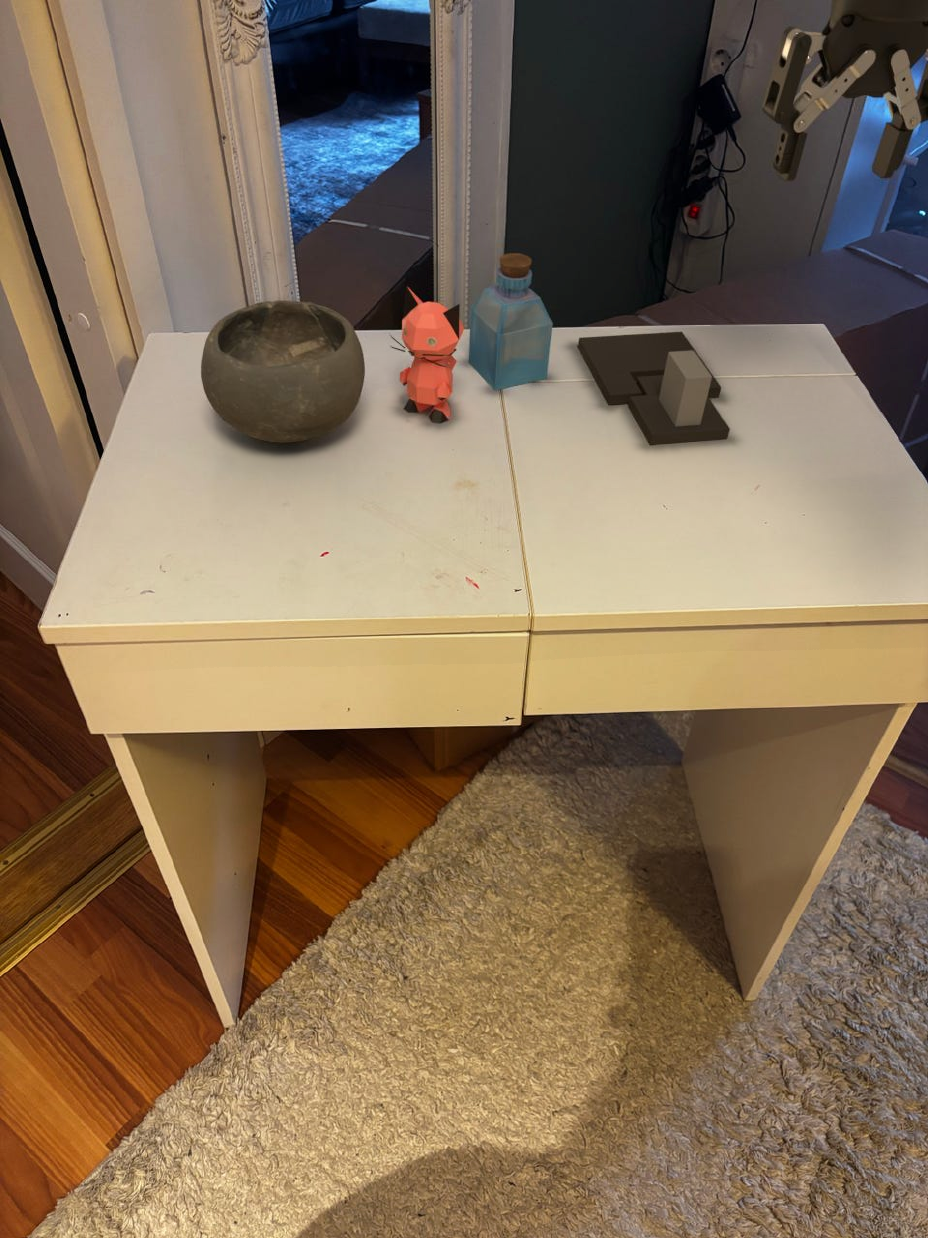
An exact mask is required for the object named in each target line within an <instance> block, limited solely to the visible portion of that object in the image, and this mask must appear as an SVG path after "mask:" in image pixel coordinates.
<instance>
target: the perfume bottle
mask: <svg viewBox="0 0 928 1238" xmlns="http://www.w3.org/2000/svg"><path fill="white" fill-rule="evenodd" d="M531 265H532V259H531V257H529V256H528V255H525V254H523V253H518V252H515V253H514V252H511V253H505V254H502V255H501V256H499V267H498V269H497V270H496V283H497V284H498V285H493V286H492V285H491V286H488V287H485V289H483V291H482V293H481V294H480V295H479V296H478V297H477V299H476V300H475V302H474V303H473V304H472V306H471V307H470V314H469V315H470V316H469V317H470V318H469V339H468V340H469V341H468V343H469V344H468V363H469V365H470V366H471V367H472V368H473V369H474V370H475V371H476V372H477V373H478V374H479V375H480V376H481V378H483V380H485V382H486V383H487V384H488V385H489V386H490V387H491V388H492V389H493V390H494V391H498V390H499V391H500V390H502V389H508V388H511V387H512V388H513V387H515V386H520V385H525V384H529V383H532V382H536V381H542V380H546V379H547V378H548V370H549V361H550V352H551V342H552V335H553V334H552V333H553V325H554V323H553V321H552V319H551V317H550V315H549V313H548V311H547V309H546V307H545V304H544V303H543V300H542V298H541V296H539V295H538V294H537V293H536V292H535V291H533V290H532V289H531V288H530V286H531V285H532V277H533V273H532V270H531V269H530V268H531Z"/></svg>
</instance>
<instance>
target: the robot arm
mask: <svg viewBox="0 0 928 1238" xmlns="http://www.w3.org/2000/svg"><path fill="white" fill-rule="evenodd" d="M816 53H817V54H818V57H819V60H820V61H819V64H818V65H817V66H816V68H814V70H813V71H811V73H810V74H809V75H808V76H807V78H806V79H805V80H804V81H802V84H801V86H800V82H801V79H802V76H803V73H804V69H805V67H807V66H808V65H809V64H811V63H812V61H813V57H814V55H815V54H816ZM923 56H924V58H925V60H926V62H925V65H924V66H925V67H924V70H923V72H922V76H921V79H920V83H919V85H918V86H919V87H918V90H917V88H916V84H915V80H914V77H913V74H912V71H911V69H912V68H913V67H914V66H915V65H916V64H917V63H918V62H919V60H921V59H922V57H923ZM826 83H827V85H826V86H824V85H825V84H826ZM799 86H800V90H799V92H798V89H799ZM823 86H824V87H823ZM863 96H868V97H871V98H873V99H876V98H877V99H880V98H881V99H882V98H884V99H885V101H886V104H887V108H888V111H889V114H890V117H891V121H886V122H885V125H884V128H883V131H882V134H881V136H880V141H879V143H878V146H877V149H876V153H875V156H874V159H873V162H872V164H871V171H872V173H873V174H874V175H875V176H877V177H879V178H880V179H892V177H893V176H894V173H895V171H898V170H899V169H900V166H901V165H902V163H903V161H904V159H905V156H906V155H905V154H906V151H907V149H908V146H909V143H910V140H911V137H912V134H913V132H914V130H915V129H916V128H918V127H919V125H920V124H923V123H925V122H928V0H831V4H830V14H829V18H828V20H827V22H826V24H825V25H824V27H823V28H822V30H821V31H820V32H815V31H804V30H801V29H799V28H798V27H796V26H794V25H789V26H788V27H786V28H785V30H784V31H783V33H782V35H781V38H780V41H779V46H778V49H777V53H776V55H775V59H774V63H773V66H772V69H771V73H770V77H769V81H768V84H767V86H766V90H765V94H764V98H763V102H762V105H761V111H762V113H763V114H764V115H765V116H767V117H768V118H770V119H771V120H772V121H774V123H776V124H777V125H780V131H779V136H778V138H777V142H776V147H775V151H774V154H773V158H772V167H773V169H774V170H775V173H776V176H777V177H778V178H779V179H781V180H782V181H783V182H794V181H795V180H796V178H797V175H798V171H799V168H800V164H801V161H802V160H801V159H802V157H803V156H802V155H803V152H804V149H805V145H806V141H807V139H808V134H809V133H808V132H807V131H806V130H807V129H808V128H809V127H810V125H812V123H813V122H814V121H815V120H816V119H817V118H818V117H819V116H820V115H821V114H822V112H824V111H826V110H829V109H830V108H832V106H834V105H835V103H836V102H837V101H838V100H839V99H840V98H841V97H843V98H844V99H856V98H860V97H863Z"/></svg>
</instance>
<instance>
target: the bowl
mask: <svg viewBox="0 0 928 1238" xmlns="http://www.w3.org/2000/svg"><path fill="white" fill-rule="evenodd" d="M365 365H366V364H365V356H364V352H363V347H362V344H361V342H360V340H359V337H358V335H357V333H356V331H355V329H354V327H353V325H352V324H351V322H350V321H349V320H348V319H347V318H345V317H344V316H343V315H342V314H340V313H339V312H337V311H335V310H334V309H331V308H329V307H326V306H324V305H319V304H316V303H313V302H312V301H308V302H306V301H301V300H299V301H298V300H285V299H284V300H283V299H282V300H280V299H279V300H278V299H277V300H273V301H271V300H268V301H260V302H257V303H253V304H250V305H249V306H245V307H242V308H239V309H237V310H235V311H232V312H231V313H229V314H227V315H225V316H224V317H222V318H221V319H220V320H218V321H217V322H216V323H215V324H214V325H213V327H212V328H211V329H210V332H209V333H208V335H207V336H206V339H205V341H204V346H203V350H202V355H201V362H200V378H201V384H202V387H203V391H204V394H205V396H206V399H207V401H208V403H209V404H210V406H211V408H212V409H213V410H214V412H215V413H216V414H217V415H218V417H220V418H221V419H222V420H223V421H224V422H225V423H226V424H227V425H229V426H231V428H234V429H235V430H237V431H239V432H240V433H243V434H245V435H247V436H249V437H251V438H254V439H257V440H260V441H265V442H269V443H281V444H283V443H284V444H285V443H296V442H301V441H302V442H303V441H309V440H312V439H314V438H317V437H321V436H323V435H325V434H329V432H332V431H333V430H336V429H337V428H339V427H340V426H342V425H343V424H344V423H346V422H347V420H348V419H349V418H351V416H352V414H353V413H354V412H355V410H356V408H357V406H358V404H359V402H360V398H361V395H362V391H363V387H364V382H365V375H366V366H365Z"/></svg>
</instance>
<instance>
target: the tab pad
mask: <svg viewBox="0 0 928 1238" xmlns="http://www.w3.org/2000/svg"><path fill="white" fill-rule="evenodd" d="M711 379H712V376H711V374H710V373H709V372H708V370H707V369H706V367H705V366H704V365H703V363H702V362H701V360H700V359H699V357H698V356H697V355H696V353H695V352H694V351H677V352H668V357H667V362H666V367H665V372H664V375H658V376H643V377H637V380H636V381H635V382H636V384H637V385H638V387H639V389H640V391H641V392H642V395H641V396H630V400H629V404H627V405H628V409H629V410H630V413H631V414H632V416H633V418H634V419H635V421H636V423H637V425H638V426H639V428H640V430H641V432H642V433H643V435H644V437H645V439H646V440H647V442H648V444H649V445H650V446H655V445H666V444H667V445H668V444H669V445H670V444H682V443H692V442H693V443H694V442H706V441H707V442H708V441H717V440H719V441H720V440H728V438H729V435H730V430H731V427H729V425H728V424H727V423H726V420H724V418H723V417H722V415H721V413H720V412H719V411H718V409H717V408H716V406H715V404H714V403H713V402H712V400H711V398H709V397H708V396H707V395H708V391H709V387H710V383H711Z"/></svg>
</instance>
